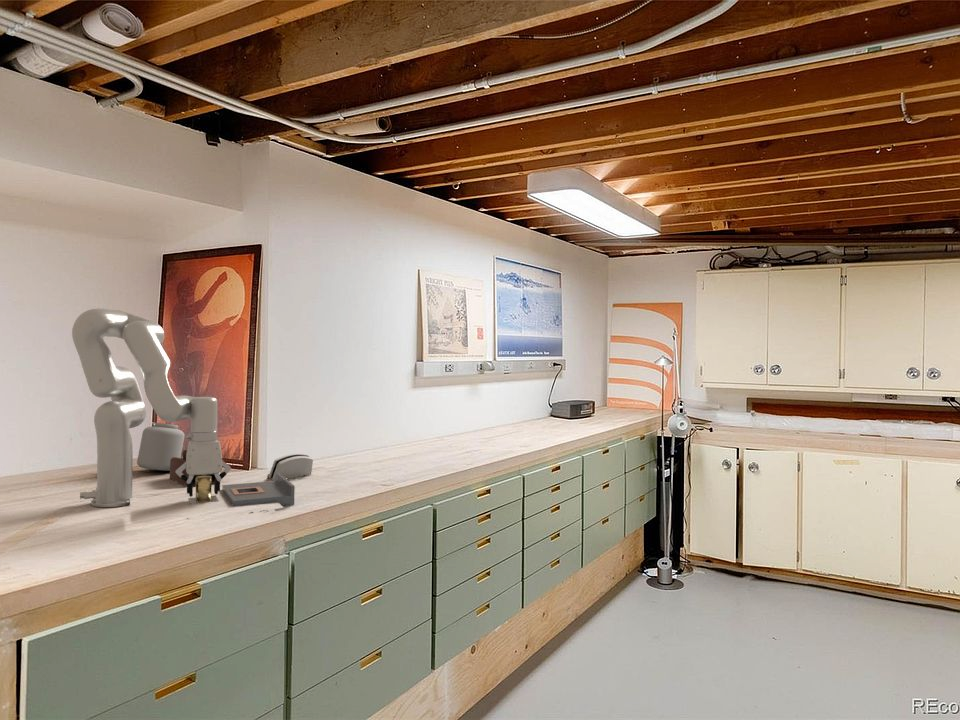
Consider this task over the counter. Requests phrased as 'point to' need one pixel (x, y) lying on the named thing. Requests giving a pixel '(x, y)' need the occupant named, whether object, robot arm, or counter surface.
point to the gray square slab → (193, 501)
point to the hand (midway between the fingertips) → (203, 494)
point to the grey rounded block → (291, 466)
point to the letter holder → (178, 462)
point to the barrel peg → (203, 488)
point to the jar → (160, 446)
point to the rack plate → (261, 492)
